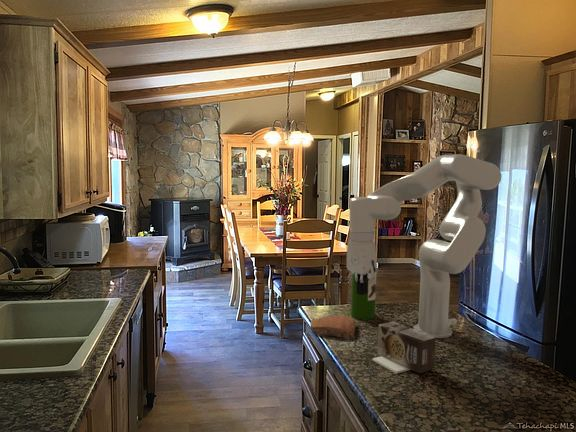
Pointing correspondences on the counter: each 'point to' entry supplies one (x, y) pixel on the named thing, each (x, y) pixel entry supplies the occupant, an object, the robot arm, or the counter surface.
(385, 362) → the white flat panel
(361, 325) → the counter surface
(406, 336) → the coffee box
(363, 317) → the wine bottle
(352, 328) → the ceramic shard
